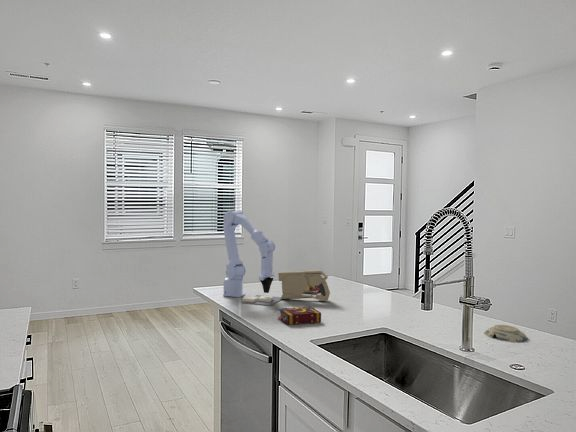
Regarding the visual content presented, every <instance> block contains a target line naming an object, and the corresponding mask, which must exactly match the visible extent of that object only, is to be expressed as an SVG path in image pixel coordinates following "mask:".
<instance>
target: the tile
mask: <svg viewBox="0 0 576 432" xmlns="http://www.w3.org/2000/svg"><path fill="white" fill-rule="evenodd" d="M273 297H274V296H271V295H263V296H261V297H259V298H258V302H271V301H272V300H273Z"/></svg>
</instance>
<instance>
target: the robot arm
mask: <svg viewBox="0 0 576 432" xmlns="http://www.w3.org/2000/svg"><path fill="white" fill-rule="evenodd" d="M240 225H241V226H242V227H243V229H245V230H246V231H247V232H248V233H249V234H250V237H251V240H253V242H254V243H255V244H256V246H257V247H258V251H259V252H260V256H261V257H260V258H261V259H260V275H259V277H258V281H260V284H261V285H262V289H263V293H264V294H266V293H267V294H268V293H270V289H271V286H272V284H273V281H274V278H273V277H275V276H276V275H275V272H274V270H273V266H274V265H273V264H274V261H273V260H274V254H273V253H274V251H275V249H276V244H275V243H274V241H272V240H269V238H267V237H266V236H265V235H264V234H263V233H264V232H263V231H261V230H258V229H256V228H255V226H254V225H252V223H251V222H250V221H249V220H248V218H247V214H245V213H244V212H243V211H242V210H234V211H233V210H228V211H226V212H225V213H224V215H223V234H224V239H225V241H224V242H225V246H226V253H227V256H228V261H227V263H226V264H225V266H226V269H225V275H226V278H225V279H224V280H223V294H222V296H223V297H233V298H240V297H243V296H245V295H246V293H243V289H244V286H243V285H244V284H243V278H244V276H245V275H246V272H247V271H246V267H245V266H244V263H243V261H242V260H241V259H240V254H239V249H238V243H237V237H236V232H235V229H236V228H237V227H238V226H240Z"/></svg>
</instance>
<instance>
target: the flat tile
mask: <svg viewBox="0 0 576 432" xmlns="http://www.w3.org/2000/svg"><path fill="white" fill-rule="evenodd" d="M258 298H259V297H254V296H252V295H246V296H244V297H242V300H241V302H252V303H254V302H256V301H258Z"/></svg>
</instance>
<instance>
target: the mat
mask: <svg viewBox="0 0 576 432" xmlns="http://www.w3.org/2000/svg"><path fill="white" fill-rule="evenodd" d="M261 296H264V294H263V295H260V294H256V295H255V296H254V297H261ZM281 297H282V296H273V300H272V301H271V302H258V301H256V302H254V303H252V302H242V301H241V302H242V304H248V305H258V306H259V305H260V306H267V307H272V306H274V305H275V304H278V303H279V302H281V301H282V300H283V299H281Z"/></svg>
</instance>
